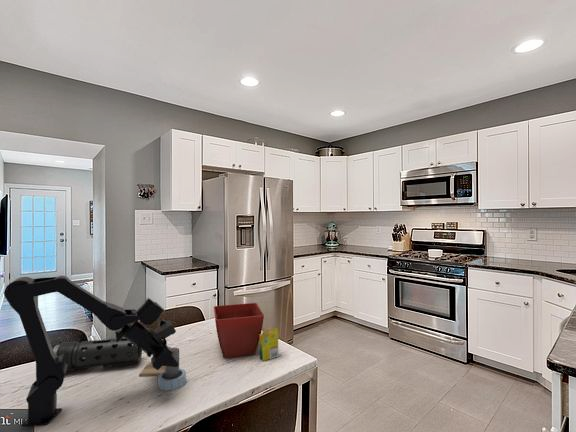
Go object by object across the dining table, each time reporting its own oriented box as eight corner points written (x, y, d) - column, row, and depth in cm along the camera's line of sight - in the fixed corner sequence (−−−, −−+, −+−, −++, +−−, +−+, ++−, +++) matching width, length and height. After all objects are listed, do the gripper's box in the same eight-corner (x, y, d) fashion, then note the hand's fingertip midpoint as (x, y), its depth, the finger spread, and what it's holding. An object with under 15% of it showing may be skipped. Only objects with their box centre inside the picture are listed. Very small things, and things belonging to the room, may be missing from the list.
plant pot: (215, 363, 116) (215, 319, 116) (213, 343, 134) (213, 305, 135) (264, 357, 121) (264, 315, 121) (256, 339, 140) (256, 302, 140)
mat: (165, 375, 107) (165, 373, 107) (139, 376, 106) (139, 374, 106) (173, 363, 116) (173, 361, 116) (148, 364, 115) (148, 362, 115)
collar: (181, 389, 98) (181, 380, 98) (154, 391, 97) (154, 381, 97) (188, 376, 106) (188, 367, 106) (163, 377, 106) (163, 368, 106)
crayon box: (275, 354, 124) (275, 325, 124) (278, 357, 122) (278, 327, 122) (258, 358, 120) (259, 329, 120) (262, 361, 118) (262, 331, 118)
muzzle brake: (137, 369, 112) (137, 340, 112) (48, 379, 104) (48, 349, 105) (142, 357, 121) (142, 331, 121) (61, 366, 114) (61, 338, 114)
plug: (177, 386, 100) (177, 353, 100) (163, 387, 99) (163, 353, 100) (180, 379, 104) (180, 347, 104) (167, 380, 104) (167, 347, 104)
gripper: (165, 323, 92) (201, 352, 98) (155, 308, 108) (187, 333, 114) (136, 355, 88) (175, 383, 93) (130, 335, 104) (164, 359, 109)
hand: (176, 362), depth 103 cm, fingers closed on plug, 4 cm apart
